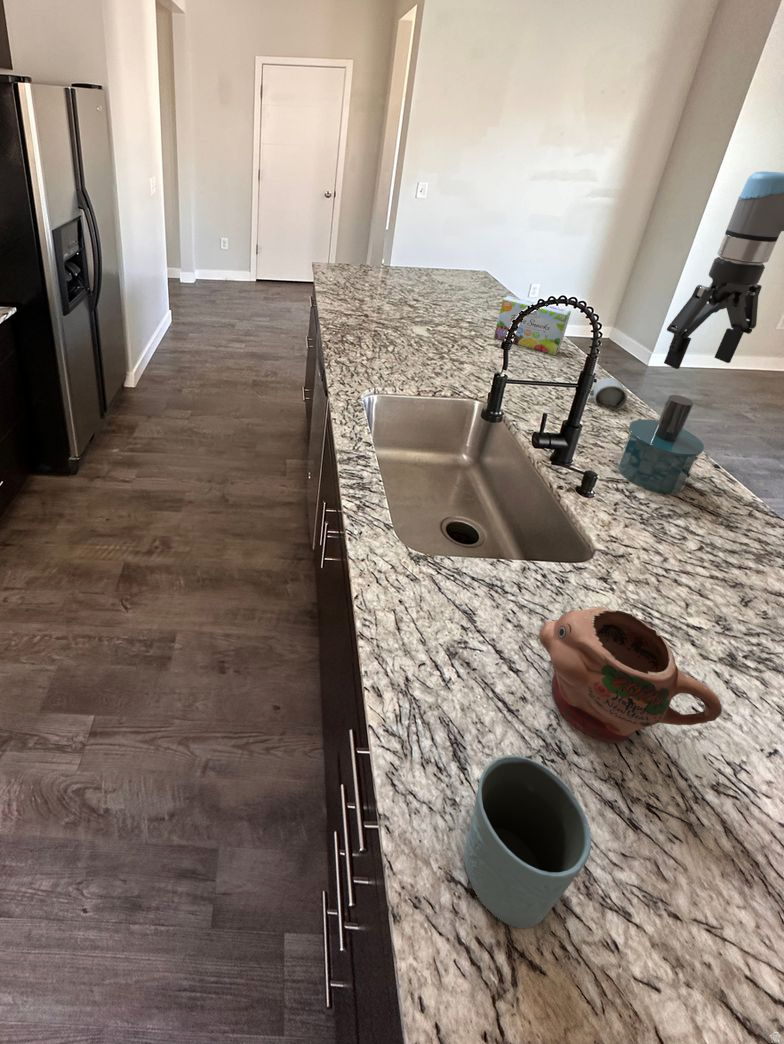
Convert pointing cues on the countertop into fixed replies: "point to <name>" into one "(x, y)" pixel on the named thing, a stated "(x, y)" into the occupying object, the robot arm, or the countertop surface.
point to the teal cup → (524, 840)
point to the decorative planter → (617, 675)
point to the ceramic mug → (609, 393)
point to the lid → (669, 429)
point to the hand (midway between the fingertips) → (696, 363)
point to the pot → (654, 467)
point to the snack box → (533, 325)
